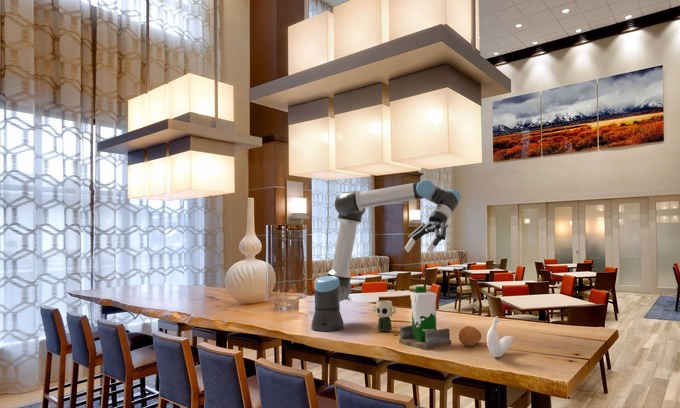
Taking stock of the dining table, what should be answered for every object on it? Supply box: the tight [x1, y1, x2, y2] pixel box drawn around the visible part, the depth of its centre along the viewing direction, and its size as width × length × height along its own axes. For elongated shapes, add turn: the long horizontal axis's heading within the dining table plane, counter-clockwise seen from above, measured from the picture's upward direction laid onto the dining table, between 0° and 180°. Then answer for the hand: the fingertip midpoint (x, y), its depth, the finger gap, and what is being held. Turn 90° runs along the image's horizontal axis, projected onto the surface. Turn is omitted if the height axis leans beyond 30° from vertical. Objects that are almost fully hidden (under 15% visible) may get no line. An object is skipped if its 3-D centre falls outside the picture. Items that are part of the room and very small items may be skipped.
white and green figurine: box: [372, 300, 397, 332], centre depth 193 cm, size 11×7×13 cm, turn 58°
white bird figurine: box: [486, 315, 514, 358], centre depth 148 cm, size 5×19×15 cm, turn 146°
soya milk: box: [410, 286, 438, 342], centre depth 169 cm, size 9×9×20 cm
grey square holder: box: [398, 325, 452, 351], centre depth 168 cm, size 14×14×6 cm
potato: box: [458, 325, 483, 347], centre depth 165 cm, size 7×13×7 cm, turn 142°
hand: (417, 250), depth 186 cm, fingers open, 13 cm apart
